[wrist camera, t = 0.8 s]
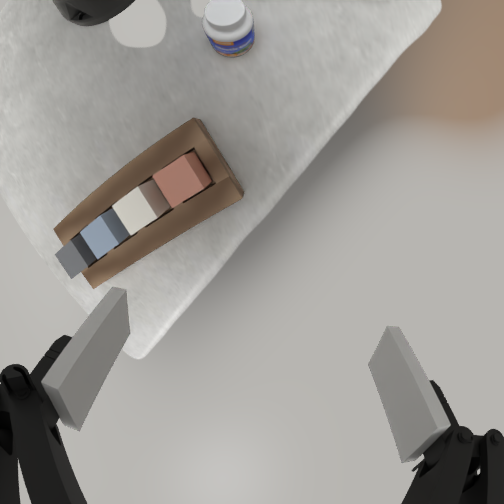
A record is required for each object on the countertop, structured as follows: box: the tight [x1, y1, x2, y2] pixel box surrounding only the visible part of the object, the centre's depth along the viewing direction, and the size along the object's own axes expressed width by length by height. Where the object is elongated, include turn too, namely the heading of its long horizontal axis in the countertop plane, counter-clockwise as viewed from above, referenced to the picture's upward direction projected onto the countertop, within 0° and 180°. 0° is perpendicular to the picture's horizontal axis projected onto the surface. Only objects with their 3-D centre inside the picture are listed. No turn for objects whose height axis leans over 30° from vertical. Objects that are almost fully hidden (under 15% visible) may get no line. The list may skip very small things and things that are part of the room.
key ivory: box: [112, 179, 171, 235], centre depth 32 cm, size 4×4×5 cm
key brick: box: [152, 152, 212, 208], centre depth 30 cm, size 4×4×5 cm
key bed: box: [54, 118, 244, 289], centre depth 36 cm, size 11×26×4 cm, turn 120°
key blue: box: [80, 208, 130, 259], centre depth 33 cm, size 4×4×5 cm
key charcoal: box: [55, 234, 97, 279], centre depth 34 cm, size 4×4×5 cm
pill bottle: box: [202, 0, 254, 57], centre depth 25 cm, size 5×5×10 cm
